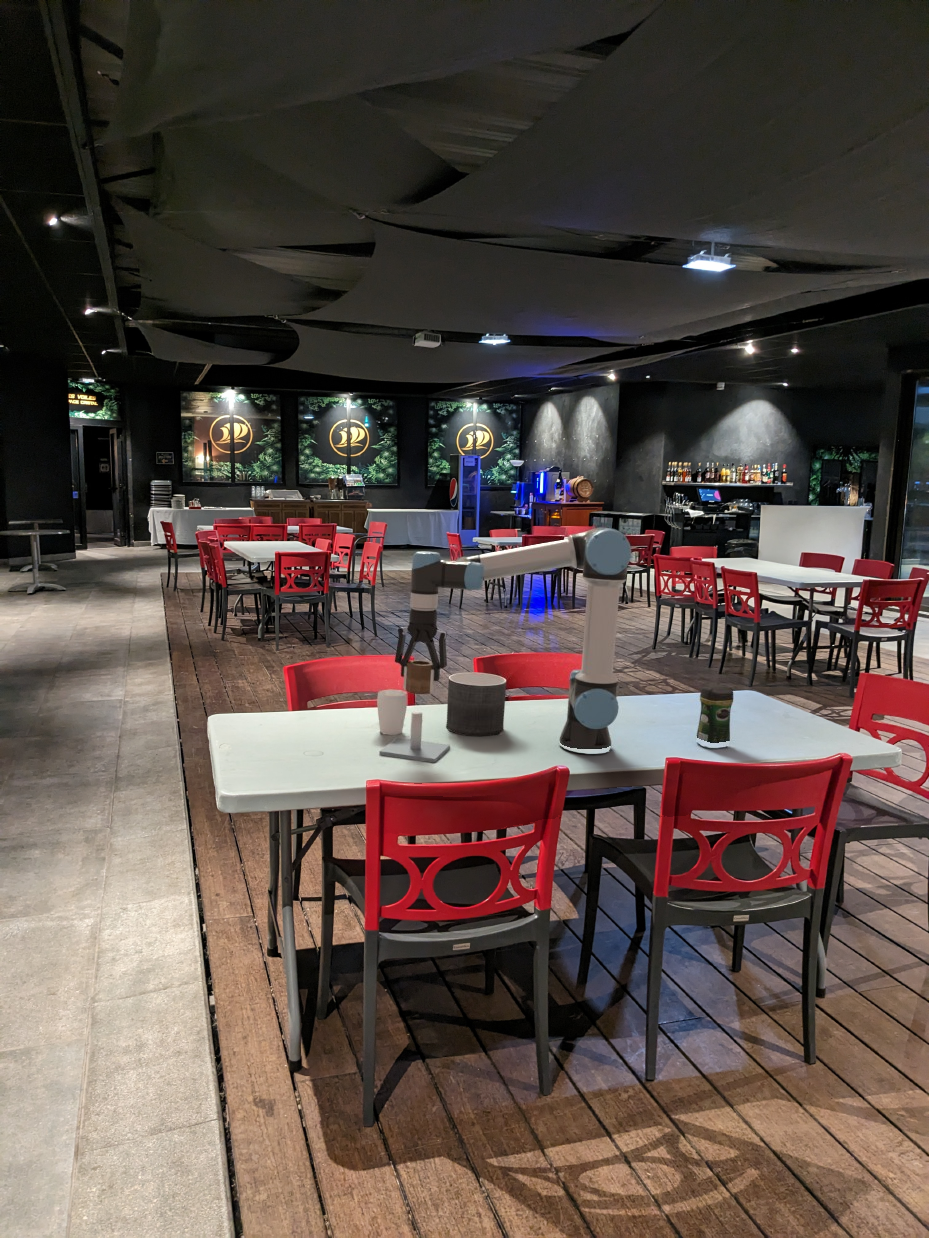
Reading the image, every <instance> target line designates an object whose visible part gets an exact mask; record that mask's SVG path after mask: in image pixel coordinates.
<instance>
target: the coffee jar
mask: <svg viewBox="0 0 929 1238" xmlns="http://www.w3.org/2000/svg"><path fill="white" fill-rule="evenodd" d="M699 701H700V714H699V722H698V727H697V732H696V736H697V738H699V739H701V740H704V741H707V742H710V743H719V742H726V741H730V740H731V711H732V705H733V703H734V690H733V688H731V687H729V686H726V685H711V686H709V685H708V686H702V687H701V689H700V695H699ZM730 742H731V741H730Z"/></svg>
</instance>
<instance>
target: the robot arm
mask: <svg viewBox="0 0 929 1238" xmlns="http://www.w3.org/2000/svg"><path fill="white" fill-rule="evenodd" d="M631 557H632V547H631V544H630V542H629V540H628V539H627V536H626V535H625V534H624V533H623V532H621V531H620V530H617V529H615V528H610V527H607V526H600V527H595V528H592V529H589V530H587V531H583V532H579V533H575V534H569V535H568V537H567V538H566V539H563V540H556V541H549V542H544V543H539V544H533V545H527V546H522V547H515V548H510V549H505V550H501V551H500V550H499V551H494V552H493V551H492V552H488V553H483V554H479V555H471V556H461V557H457V559H455V560H446V559H445V560H444V559H442V558H441V553H439V552H435V551H416V552H414V554H413V556H412V563H411V577H410V578H411V579H410V580H411V584H410V598H409V599H410V600H409V601H410V602H409V607H411V608H409V618H408V619H409V620H408V621H409V623H408V625H407V626H401V627H399V628H397V633H398V639H397V646H396V650H395V651H396V653H395V656H394V662H395V663H396V664H399V665H400V677H401V678H403V683H402V684H403V686H402V688H403V690H402V691H406V675H407V662H409V661H410V660H411V656H412V654H413V652H414V649H415V647H416V645H417V644H418V643H424V644H425V646H426V647H427V649H428V654H429V657H430V661H431V662H432V664H433V667H434V668H433V669H432V670H431V680H430V694H433V693H435V692H436V690H437V689H436V687H437V686H436V685H437V682H439V680H440V675H441V674H440V672H441V669H444V668H446V667H447V666H448V659H447V643H446V639H447V636H448V631H442V630H439V629H438V625H437V622H438V610H437V608H438V604H439V603H438V602H439V588H441V589H456V590H465V591H479V590H481V589H482V588H483V585H484V584H483V583H484V581H491V580H494V579H496V580H497V579H502V578H507V577H513V576H519V575H524V574H529V573H530V574H531V573H536V572H542V571H549V570H553V569H560V568H564V567H566V568H567V567H572V568H574V569H580V568H581V569H582V579H583V580H584V581H585V582H586V585H587V589H586V590H587V591H586V602H585V615H584V632H583V643H582V657H581V669H573V670H572V671H571V672H570V674H569V675H570V676H569V679H568V681H569V685H568V686H569V687H568V688H569V689H568V698H567V699H568V700H567V714H566V715H567V716H566V721H565V723H564V726H563V728H562V731H561V734H560V735H559V741H560V743H561V744H562V745H564V746H567V747H570V748H577V749H602V748H607V747H609V746H611V747H612V739H611V735H610V731H609V726H610V725H612V723H614V721H615V720H616V718H617V716H618V714H619V708H620V707H619V701H618V699H617V697H618V684H619V683H618V682H619V678H618V677H617V676H616V675H615V674H614V662H615V653H616V652H615V650H616V639H617V638H616V637H617V627H618V626H617V624H618V616H619V615H618V613H619V601H620V589H621V586H622V585H623V584H624V583H625V582H626V581H627V574H628V565H629V563H630V561H631ZM408 633H409V635H410V640H409V643H408V646H407V647H406V650H405V643H406V637H407V634H408ZM436 635H437V639H438V650H439V651H437V650H436V646H435V640H434V637H435V636H436ZM404 650H405V653H404ZM437 652H438V653H439V656H438V653H437Z"/></svg>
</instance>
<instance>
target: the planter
mask: <svg viewBox="0 0 929 1238" xmlns="http://www.w3.org/2000/svg"><path fill="white" fill-rule="evenodd" d="M506 691H507V679H506V678H504V677H502V676H500V675H496V674H491V673H485V672H460V673H459V672H458V673H454V674H451V675H449V676H448V685H447V703H446V704H447V707H446V711H447V712H446V729H447V730H448V731H449V732H450V731H451V732H452V733H455V734H459V735H463V736H471V737H490V736H494V735H499V734H501V733H502V732H504V721H505V707H506V693H507V692H506Z"/></svg>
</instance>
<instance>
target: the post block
mask: <svg viewBox="0 0 929 1238" xmlns="http://www.w3.org/2000/svg"><path fill="white" fill-rule="evenodd" d="M410 720H411V721H410V722H411V723H410V738H402V737H396V738H395V739H393V740H392V741H391V742H390V743H388V744H386V746H384V747H383V748H381V749H380V750H379V755H380V756H387V757H393V758H400V759H406V760H414V761H420V762H421V761H422V762H427V763H428V762H429V763H434V764H435V763H436V762H437V761H439V759H440V758H441V757H442V756H443V755H445V754H446V753H447V752H448V751H449V750H450V749H451V744H446V743H439V742H432V741H425V740H422V731H423V730H422V729H423V712H420V711H413V712H411V719H410Z"/></svg>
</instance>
